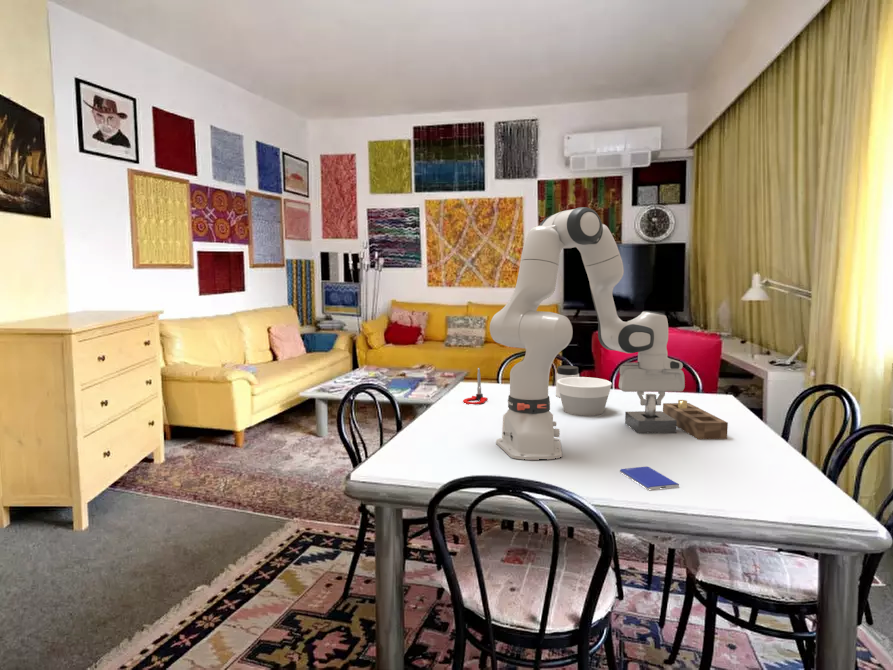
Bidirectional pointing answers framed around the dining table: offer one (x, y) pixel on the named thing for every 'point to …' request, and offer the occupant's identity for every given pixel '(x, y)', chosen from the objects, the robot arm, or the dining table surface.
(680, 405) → the cylinder
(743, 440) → the dining table surface
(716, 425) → the rack
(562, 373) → the jar
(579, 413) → the bowl
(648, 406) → the steel peg
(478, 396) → the tow hook
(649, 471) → the hard drive
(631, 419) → the socket block
